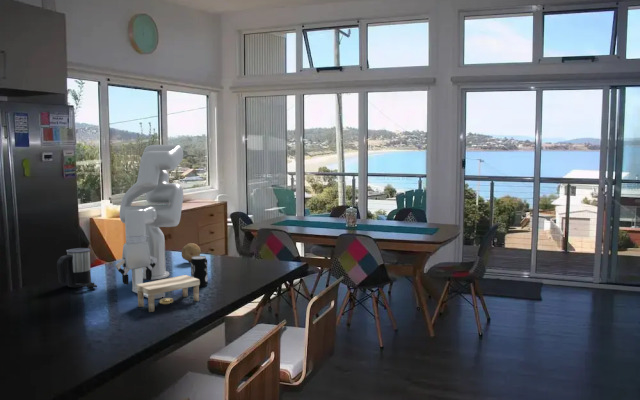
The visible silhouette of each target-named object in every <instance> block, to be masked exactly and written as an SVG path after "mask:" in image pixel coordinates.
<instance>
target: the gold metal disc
mask: <svg viewBox="0 0 640 400" xmlns="http://www.w3.org/2000/svg"><path fill="white" fill-rule="evenodd" d="M170 303H171V304H173V303H174V298H172V297H163V298H159V303H158V304H160V305H170Z"/></svg>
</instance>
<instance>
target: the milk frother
mask: <svg viewBox="0 0 640 400" xmlns="http://www.w3.org/2000/svg"><path fill="white" fill-rule="evenodd" d="M90 251H91V248H88V247H77V248H70V249H66V254H64V255H62V256H60V257H58V259H57V262H56V268H57V269H56V270H57V278H58V282H59V283H60V284H65V283H66V282H67V286H68V287H69V288H87V289H89V290H94V288H97V287H98V285H97V284H96V283H94V282H92V276H91V255H90ZM66 262H67V263H66ZM65 264H67V275H66V267H65ZM66 276H67V279H66Z"/></svg>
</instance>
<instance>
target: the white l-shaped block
mask: <svg viewBox="0 0 640 400" xmlns="http://www.w3.org/2000/svg"><path fill="white" fill-rule="evenodd" d="M131 280H132V282H131V283H132V289H131V291H132V292H133V293H136V294H138V291H137V290H136V284H141V283H144V279H143V269H142V267H141V268H136V269H131ZM143 294H144V297H145V298H147V299H148V295H147V294H145V293H143ZM162 297H163V298H166V292H164V293H160V294H155V295H154V300H157V299H163V298H162Z"/></svg>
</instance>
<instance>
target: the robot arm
mask: <svg viewBox="0 0 640 400" xmlns="http://www.w3.org/2000/svg"><path fill="white" fill-rule="evenodd" d="M183 159H184V151H183V148H182V146H181V145H179V144H151V145H147V146H146V147H145V148H144V151H143V154H142V155H141V158H140V162H139V168H138V173H137V179H136V182H135V183H134V184H133V185H132V186H131V187H129V188H128V190H127V191H126V192H125V193H124V195H123V196H122V199H121V203H120V207H119V220H120V221H121V222H122V223H123V224H124V225H125V229H124V230H125V243H124V244H123V246H122V254H121V255H122V257H121V260H119V261H118V262H117V263H115V265H114V266H115V268H116V270H117V272H119V273H120V274H121V275H122V280H121V281H122V283H123V285H126V286H128V285H129V274H128V273H129V272H130V270H132V269H136V268H142V272H143V280H148V281H155V280H162V279H167V278H169V276H170V272H169V271H167V270H166V243H165V241H166V240H165V235H164V233H163V231H162V229H161V228H164V227H165V228H173V227H177V226H178V225H179V224H180V222H181V217H182V210H183V202H184V190H183V186H181V185H180V184H179V183H176V182H175V183H171V182H169V179H170V175H169V173H168V171H174V170H176V169H177V167H178V166H179V165H180V164H181V163H182V161H183ZM145 194H146V195H145ZM143 195H145V199H146V202H147V203H148V204H145V205H132V204H133V202H134V201H135V200H137V198H139V197H141V196H143ZM121 266H122V268H121Z"/></svg>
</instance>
